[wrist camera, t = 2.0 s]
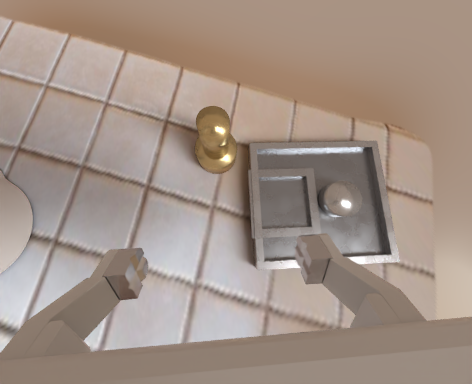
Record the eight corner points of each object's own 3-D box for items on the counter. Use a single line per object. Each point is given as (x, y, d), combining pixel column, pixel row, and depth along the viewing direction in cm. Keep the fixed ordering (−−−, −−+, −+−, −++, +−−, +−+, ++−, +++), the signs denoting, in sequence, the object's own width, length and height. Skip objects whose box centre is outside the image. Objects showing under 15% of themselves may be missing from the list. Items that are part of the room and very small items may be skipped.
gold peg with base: (198, 174, 30) (184, 147, 20) (197, 138, 31) (184, 96, 21) (236, 173, 30) (242, 146, 20) (235, 137, 31) (239, 96, 21)
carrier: (252, 266, 28) (255, 272, 24) (245, 149, 31) (248, 138, 27) (386, 259, 29) (409, 263, 25) (366, 146, 32) (384, 136, 29)
